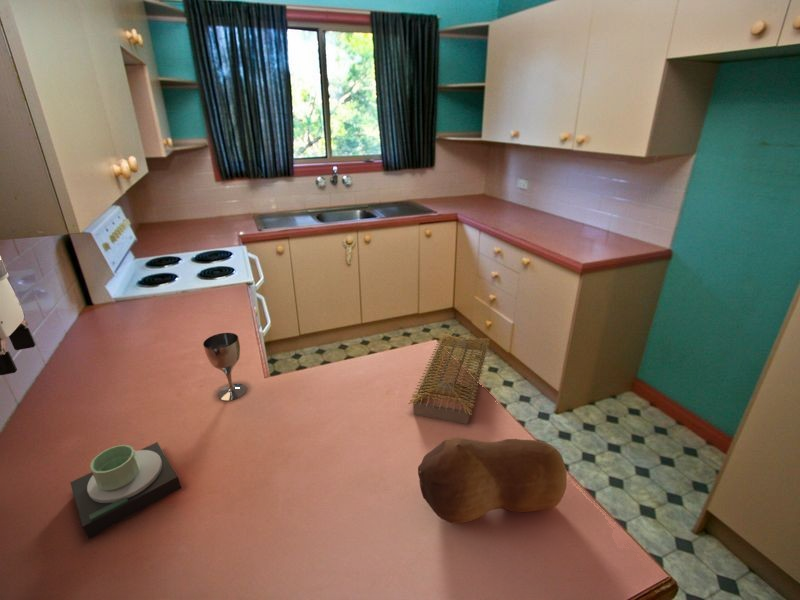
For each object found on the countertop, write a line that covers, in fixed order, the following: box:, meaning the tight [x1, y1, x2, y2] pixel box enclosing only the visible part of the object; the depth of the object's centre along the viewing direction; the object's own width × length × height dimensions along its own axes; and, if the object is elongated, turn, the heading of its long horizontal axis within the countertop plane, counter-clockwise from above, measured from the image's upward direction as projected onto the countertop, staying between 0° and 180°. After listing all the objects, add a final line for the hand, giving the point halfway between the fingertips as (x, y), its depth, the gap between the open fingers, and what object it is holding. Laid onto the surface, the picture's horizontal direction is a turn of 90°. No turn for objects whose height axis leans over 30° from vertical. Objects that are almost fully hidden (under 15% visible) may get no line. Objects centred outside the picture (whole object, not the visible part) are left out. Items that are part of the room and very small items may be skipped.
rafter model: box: [408, 332, 491, 425], centre depth 110 cm, size 35×14×6 cm, turn 162°
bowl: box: [89, 444, 140, 490], centre depth 78 cm, size 7×7×5 cm
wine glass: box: [202, 332, 248, 402], centre depth 105 cm, size 8×8×15 cm
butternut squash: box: [417, 436, 568, 524], centre depth 73 cm, size 14×13×25 cm
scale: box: [69, 441, 182, 540], centre depth 80 cm, size 15×13×4 cm
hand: (16, 360), depth 78 cm, fingers open, 9 cm apart
